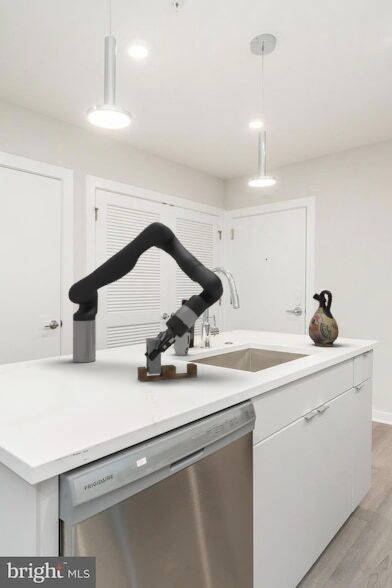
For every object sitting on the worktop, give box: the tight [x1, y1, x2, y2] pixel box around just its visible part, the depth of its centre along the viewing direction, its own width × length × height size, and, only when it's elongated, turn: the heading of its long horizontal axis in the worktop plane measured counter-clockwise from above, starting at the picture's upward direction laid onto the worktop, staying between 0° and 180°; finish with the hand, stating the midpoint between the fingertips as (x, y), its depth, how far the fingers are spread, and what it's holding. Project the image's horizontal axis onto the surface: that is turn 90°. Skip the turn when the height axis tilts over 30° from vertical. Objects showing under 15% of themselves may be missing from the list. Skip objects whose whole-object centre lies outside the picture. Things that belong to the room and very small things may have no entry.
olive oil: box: [181, 298, 196, 349], centre depth 200 cm, size 11×11×25 cm
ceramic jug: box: [308, 289, 339, 347], centre depth 205 cm, size 17×15×30 cm
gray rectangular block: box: [145, 337, 162, 375], centre depth 129 cm, size 4×4×12 cm
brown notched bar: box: [137, 362, 198, 382], centre depth 131 cm, size 20×4×4 cm, turn 110°
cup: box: [173, 333, 190, 357], centre depth 177 cm, size 8×8×10 cm
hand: (148, 357), depth 129 cm, fingers closed on gray rectangular block, 4 cm apart
